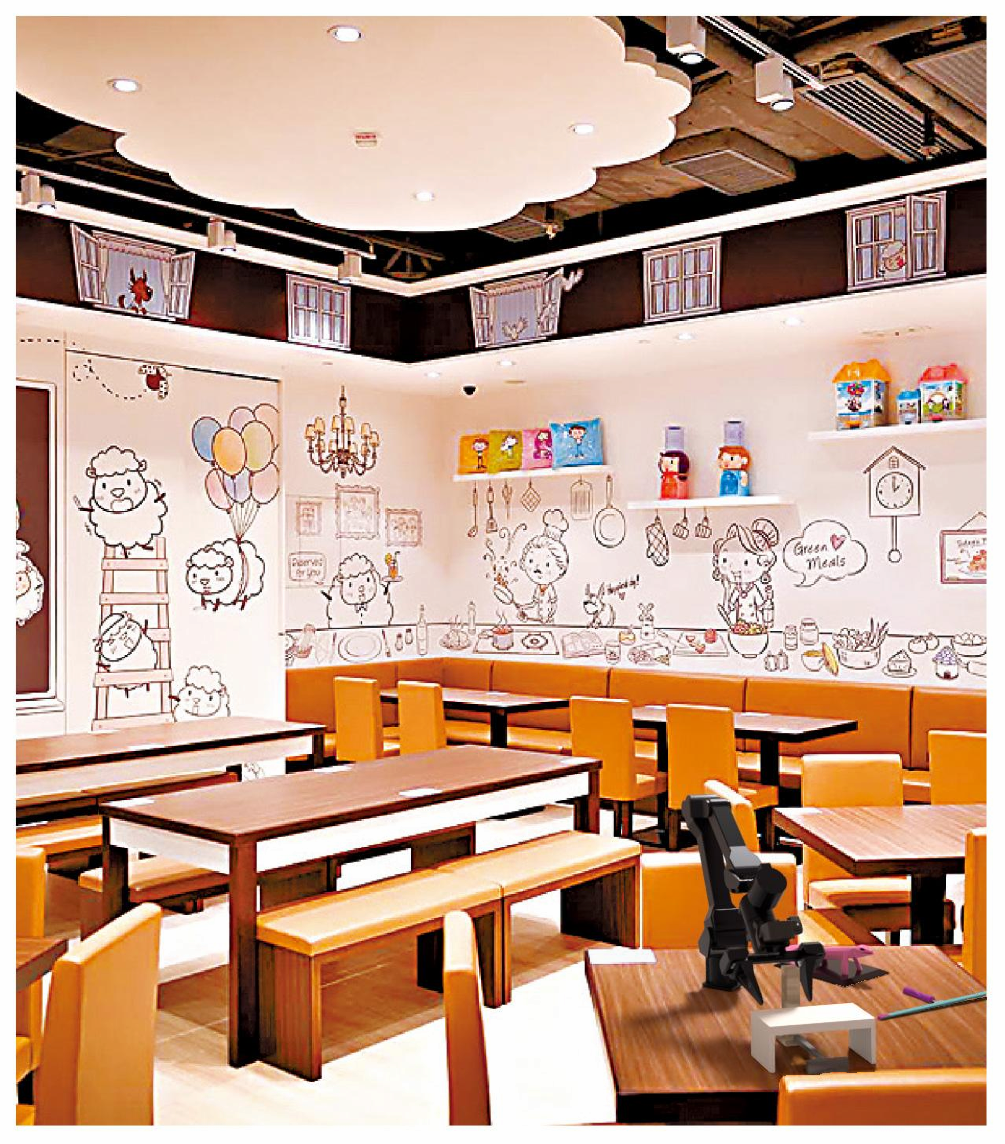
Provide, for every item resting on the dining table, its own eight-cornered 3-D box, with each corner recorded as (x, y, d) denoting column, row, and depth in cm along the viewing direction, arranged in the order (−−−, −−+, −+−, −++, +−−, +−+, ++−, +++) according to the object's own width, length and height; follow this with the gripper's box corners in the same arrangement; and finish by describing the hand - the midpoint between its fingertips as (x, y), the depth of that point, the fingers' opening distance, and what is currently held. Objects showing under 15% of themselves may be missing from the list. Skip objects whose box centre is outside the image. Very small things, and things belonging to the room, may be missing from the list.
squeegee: (954, 976, 245) (993, 990, 236) (954, 984, 245) (994, 999, 236) (844, 1000, 233) (881, 1016, 224) (844, 1009, 233) (881, 1025, 224)
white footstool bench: (751, 1055, 207) (750, 1010, 207) (853, 1046, 210) (852, 1003, 211) (770, 1072, 199) (769, 1026, 199) (876, 1063, 203) (875, 1018, 203)
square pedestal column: (768, 1039, 214) (767, 965, 215) (805, 1036, 216) (803, 962, 216) (809, 1074, 198) (807, 994, 199) (848, 1071, 200) (847, 991, 200)
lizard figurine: (851, 992, 242) (850, 955, 242) (773, 968, 258) (772, 933, 258) (895, 978, 250) (894, 942, 251) (817, 956, 266) (816, 922, 267)
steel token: (817, 1081, 196) (817, 1075, 196) (826, 1072, 200) (826, 1066, 200) (844, 1087, 194) (844, 1081, 194) (853, 1078, 197) (853, 1072, 197)
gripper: (724, 903, 219) (749, 984, 208) (821, 897, 222) (850, 976, 211) (709, 934, 226) (732, 1014, 215) (802, 928, 230) (830, 1006, 219)
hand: (786, 1002), depth 215 cm, fingers open, 9 cm apart
